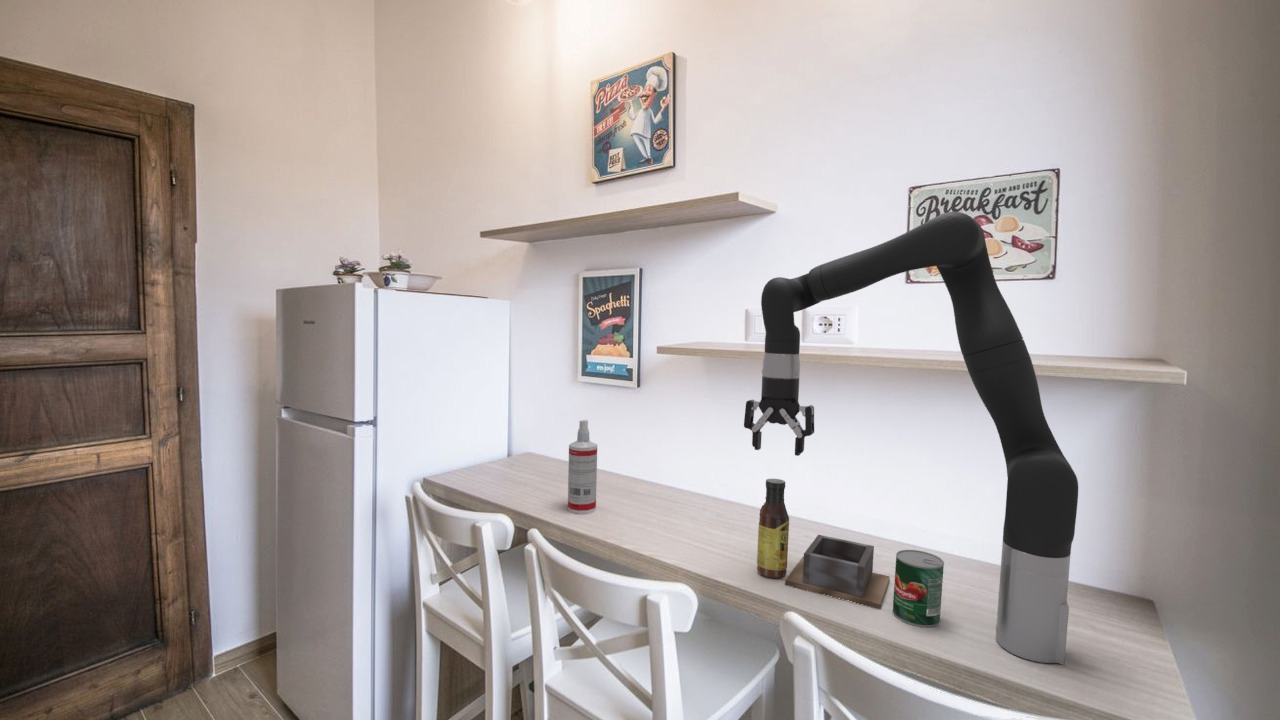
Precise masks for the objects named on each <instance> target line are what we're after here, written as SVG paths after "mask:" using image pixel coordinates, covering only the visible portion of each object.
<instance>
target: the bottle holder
mask: <svg viewBox="0 0 1280 720" xmlns="http://www.w3.org/2000/svg"><path fill="white" fill-rule="evenodd" d="M874 551H875V545H871V544H866V543H860V542H856V541H851V540H846V539H843V538H842V539H841V538H836V537H832V536H827V535H822V534H817V536H816V537H815V539H813V541H812V542H811V544H810V545H809V546H808V547H807V549H806V550H805V552H803V556H802V557H801V559H799V561H798V562H797V563H796V565H795V566H794V567H793V569H792V570H791V572H790V573H789V574H788V575H787V577H786V578H785V580H784V585H785V586H788V587H791V586H793V587H792V588H795V587H797V588H796V589H799V588H800V589H799V590H803V589H804V591H807V590H808V591H807V592H812V593H815V594H818V593H819V595H822V594H825V595H824V596H826V595H829V596H828V597H830V596H832V597H831V598H834V597H836V598H835V599H838V598H840V599H839V600H842V599H844V600H843V601H846V600H849V601H852V602H851V603H853V602H856V603H855V604H857V603H859V604H858V605H861V604H863V605H862V606H865V605H867V606H866V607H869V606H870V608H873V609H877V610H881V607H882V604H883V602H884V599H885V596H886V592H887V589H888V587H889V584H890V581H891V576H889V575H885V574H881V573H877V572H873V570H874V569H873V568H874V567H873V566H874V554H875V553H874ZM849 601H848V602H849Z"/></svg>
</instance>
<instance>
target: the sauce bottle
mask: <svg viewBox="0 0 1280 720" xmlns="http://www.w3.org/2000/svg"><path fill="white" fill-rule="evenodd" d="M785 489H786V481H785V480H783V479H780V478H767V479H766V480H765V490H766V491H765V493H766V494H765V502H764V503H763V504H762V505H761V508H760V509H759V522H758V534H757V556H756V558H757V559H756V563H757V565H756V566H757V568H756V569H757V572H758V573H759V574H760V575H761V576H764V577H766V578H771V579H776V578H783V577H784V576H786V574H787V568H788V553H789V550H788V549H789V535H790V534H789V532H790V517H789V514H788V511H787V508H786V507H787V506H786V504H785Z"/></svg>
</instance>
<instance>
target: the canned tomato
mask: <svg viewBox="0 0 1280 720" xmlns="http://www.w3.org/2000/svg"><path fill="white" fill-rule="evenodd" d="M944 566H945V562H944V560H943V559H942V558H941V557H939V556H937V555H935V554H933V553H930V552H927V551H922V550H917V549H901V550H899V551H897V552H896V553H895V566H894V567H895V571H894V584H893V585H894V587H893V602H892V610H891V611H892V614H893V616H894V617H895V618H897V619H898V620H899V619H900V620H899V621H901V622H903V623H905V624H908V625H911V626H913V627H919V628H935V627H937V626H939V625H940V622H941V610H942V593H943V582H944V581H943V580H944V579H943V578H944Z"/></svg>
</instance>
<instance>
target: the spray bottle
mask: <svg viewBox="0 0 1280 720" xmlns="http://www.w3.org/2000/svg"><path fill="white" fill-rule="evenodd" d="M576 437H577V440H576V441H573V442H571V443H569V444H568V471H567V473H568V475H567V476H568V477H567V478H568V479H567V481H568V482H567V483H568V484H567V511H569V512H570V513H571V514H577V515H586V514H587V515H588V514H591V513H595V511H596V509H597V481H598V480H597V477H598V475H597V473H598V471H597V470H598V443H595V442H592V441H591V440H590V430H589V420H588V419H582V420H579V428H578V430H577V436H576Z"/></svg>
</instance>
